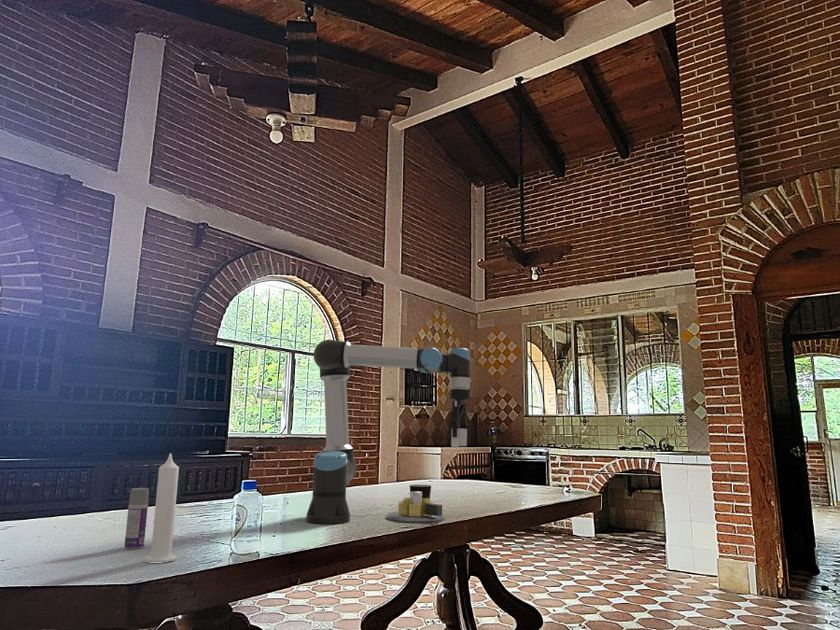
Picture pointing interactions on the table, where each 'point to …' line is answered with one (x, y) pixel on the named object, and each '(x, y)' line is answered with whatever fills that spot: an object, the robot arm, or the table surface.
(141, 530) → the container
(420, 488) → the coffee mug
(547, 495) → the table surface
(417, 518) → the flange plate
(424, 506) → the toy block cluster
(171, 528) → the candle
